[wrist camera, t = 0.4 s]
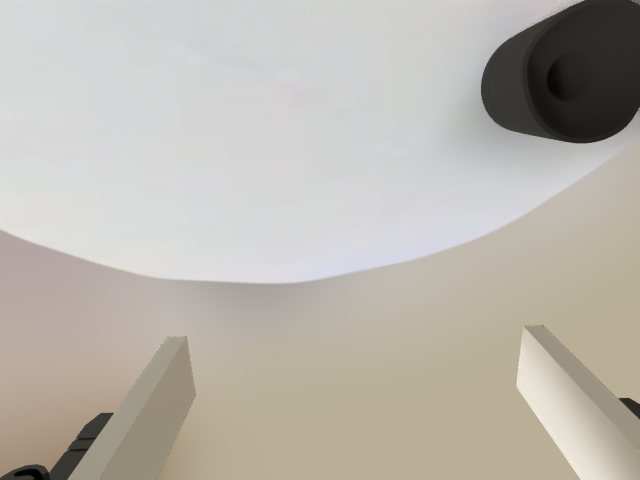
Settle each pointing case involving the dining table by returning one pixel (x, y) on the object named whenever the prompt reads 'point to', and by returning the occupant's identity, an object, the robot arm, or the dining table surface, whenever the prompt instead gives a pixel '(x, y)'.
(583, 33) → the pen holder
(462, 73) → the dining table surface
